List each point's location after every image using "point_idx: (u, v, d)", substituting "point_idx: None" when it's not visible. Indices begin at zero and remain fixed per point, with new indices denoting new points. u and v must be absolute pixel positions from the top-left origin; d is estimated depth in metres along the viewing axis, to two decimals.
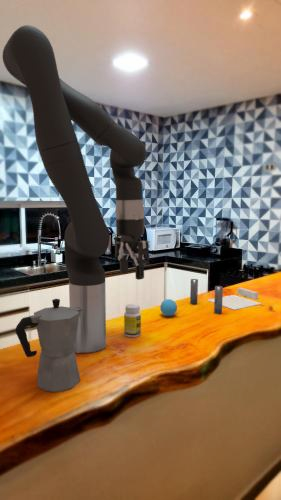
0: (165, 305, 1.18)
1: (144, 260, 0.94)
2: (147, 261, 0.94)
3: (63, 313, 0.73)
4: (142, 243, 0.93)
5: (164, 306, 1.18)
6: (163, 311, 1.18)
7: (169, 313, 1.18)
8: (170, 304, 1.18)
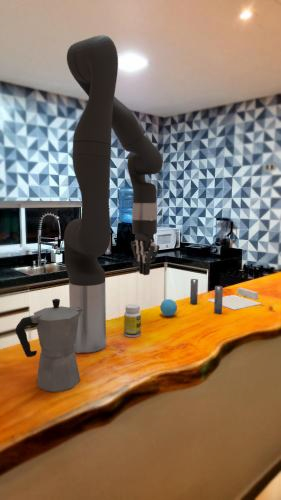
0: (165, 305, 1.18)
1: (150, 259, 1.09)
2: (153, 260, 1.10)
3: (63, 313, 0.73)
4: (154, 248, 1.07)
5: (164, 306, 1.18)
6: (163, 311, 1.18)
7: (169, 313, 1.18)
8: (170, 304, 1.18)
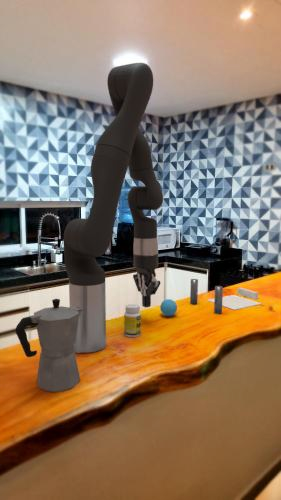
0: (165, 305, 1.18)
1: (151, 293, 1.12)
2: (153, 294, 1.12)
3: (63, 313, 0.73)
4: (155, 284, 1.08)
5: (164, 306, 1.18)
6: (163, 311, 1.18)
7: (169, 313, 1.18)
8: (170, 304, 1.18)
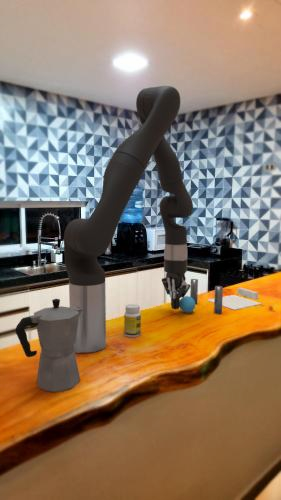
0: None
1: (181, 296, 1.19)
2: (182, 296, 1.19)
3: (63, 313, 0.73)
4: (185, 288, 1.16)
5: (194, 301, 1.24)
6: None
7: (190, 301, 1.22)
8: (194, 307, 1.23)
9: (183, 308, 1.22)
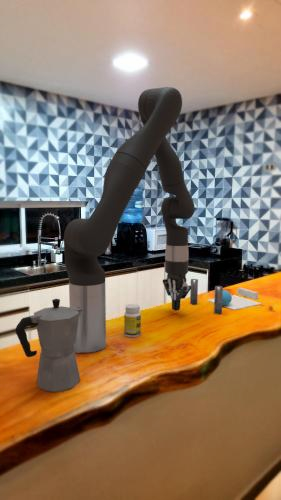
0: (230, 294, 1.32)
1: (181, 297, 1.18)
2: (183, 298, 1.19)
3: (63, 313, 0.73)
4: (186, 289, 1.15)
5: None
6: (226, 291, 1.31)
7: (227, 295, 1.29)
8: (231, 299, 1.31)
9: None
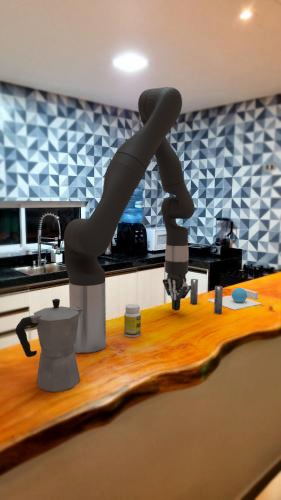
0: (238, 301, 1.34)
1: (181, 297, 1.18)
2: (183, 298, 1.19)
3: (63, 313, 0.73)
4: (186, 289, 1.15)
5: (238, 302, 1.34)
6: None
7: (245, 299, 1.34)
8: (239, 298, 1.33)
9: None
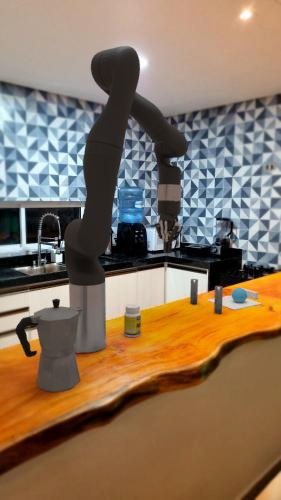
0: (238, 301, 1.34)
1: (173, 238, 1.16)
2: (175, 239, 1.16)
3: (63, 313, 0.73)
4: (178, 228, 1.13)
5: (238, 302, 1.34)
6: None
7: (245, 299, 1.34)
8: (239, 298, 1.33)
9: None
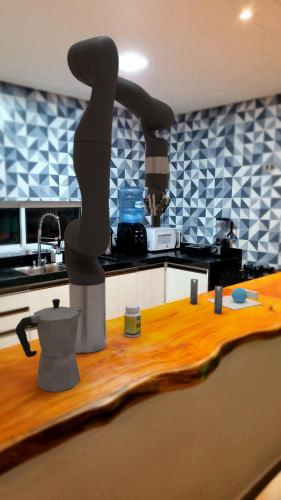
0: (238, 301, 1.34)
1: (161, 211, 1.15)
2: (163, 213, 1.16)
3: (63, 313, 0.73)
4: (166, 201, 1.12)
5: (238, 302, 1.34)
6: None
7: (245, 299, 1.34)
8: (239, 298, 1.33)
9: None
